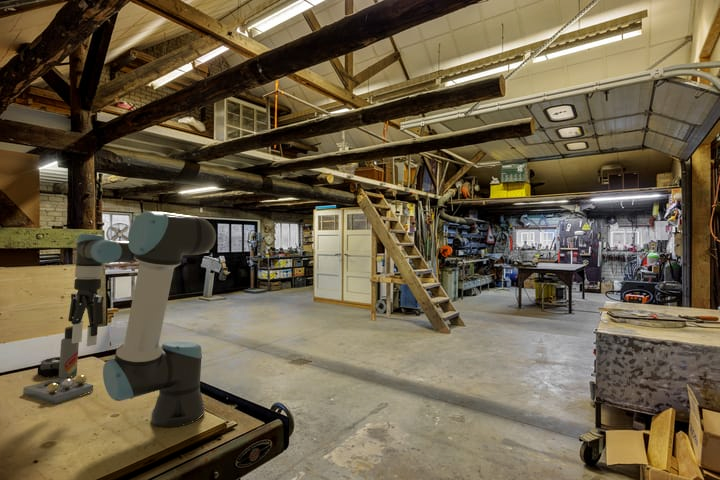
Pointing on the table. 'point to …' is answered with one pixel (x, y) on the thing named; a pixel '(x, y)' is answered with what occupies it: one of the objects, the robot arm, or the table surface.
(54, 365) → the cpu cooler
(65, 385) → the steel ball
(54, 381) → the bearing plate
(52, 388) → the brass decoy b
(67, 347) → the lotion bottle
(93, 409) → the table surface
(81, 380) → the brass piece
